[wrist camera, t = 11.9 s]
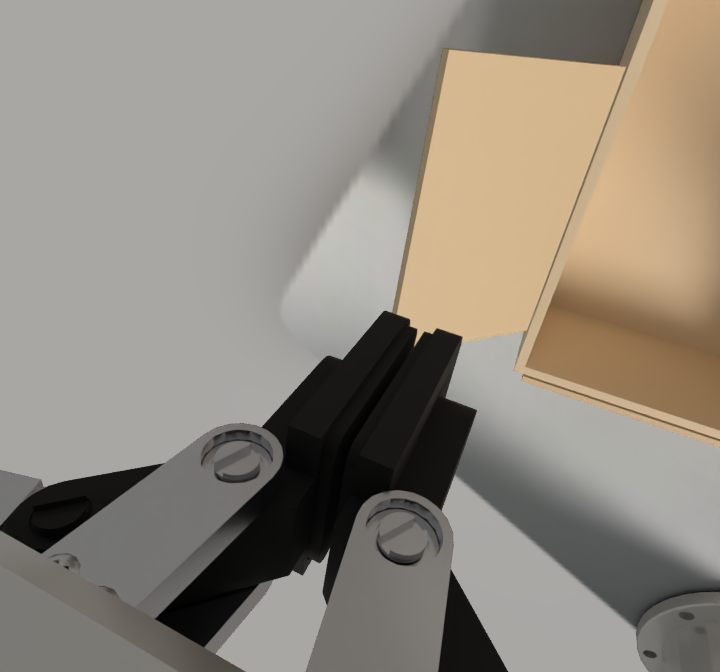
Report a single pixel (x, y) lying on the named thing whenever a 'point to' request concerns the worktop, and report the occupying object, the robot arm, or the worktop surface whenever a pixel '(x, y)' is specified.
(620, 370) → the carton
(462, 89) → the side flap
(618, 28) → the worktop surface
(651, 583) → the worktop surface
